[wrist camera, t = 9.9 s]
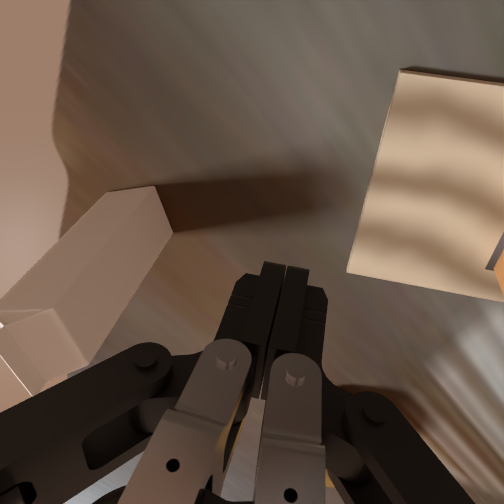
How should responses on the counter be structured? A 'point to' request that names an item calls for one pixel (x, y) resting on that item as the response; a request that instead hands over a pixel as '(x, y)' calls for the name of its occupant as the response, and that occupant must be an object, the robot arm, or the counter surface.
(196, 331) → the counter surface
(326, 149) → the counter surface
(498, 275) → the t block
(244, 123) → the counter surface
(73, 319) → the milk
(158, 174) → the counter surface
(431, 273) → the push board
